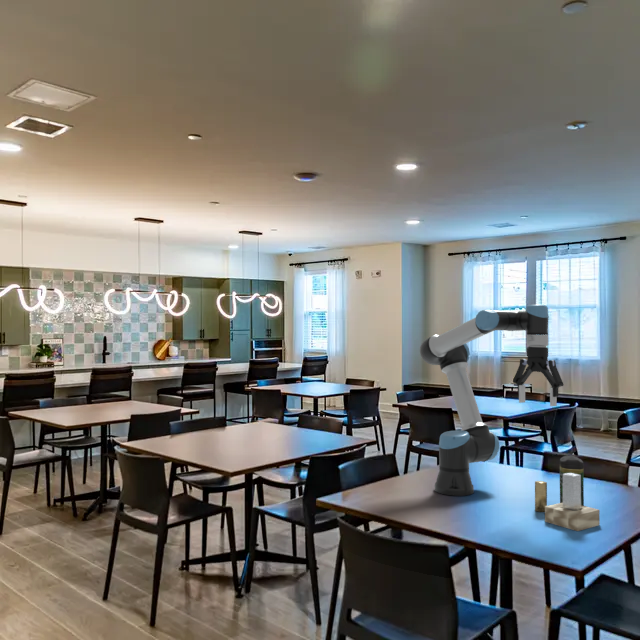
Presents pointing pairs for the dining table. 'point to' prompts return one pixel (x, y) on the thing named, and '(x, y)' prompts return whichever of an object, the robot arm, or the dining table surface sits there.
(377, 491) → the dining table surface
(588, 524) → the socket block
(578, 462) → the coffee jar
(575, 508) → the square bit
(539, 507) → the round bit
